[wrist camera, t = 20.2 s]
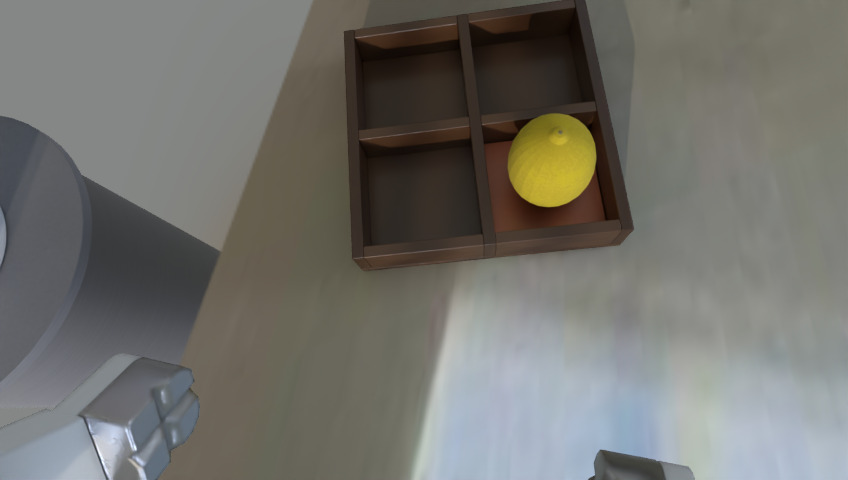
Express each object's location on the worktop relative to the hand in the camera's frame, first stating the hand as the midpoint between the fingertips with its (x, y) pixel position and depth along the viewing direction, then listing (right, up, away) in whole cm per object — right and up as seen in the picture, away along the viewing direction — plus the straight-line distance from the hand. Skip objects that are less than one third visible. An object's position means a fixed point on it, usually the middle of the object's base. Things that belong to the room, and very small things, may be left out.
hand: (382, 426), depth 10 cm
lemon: (+10, +7, +27) cm, 30 cm away
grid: (+5, +11, +29) cm, 31 cm away
